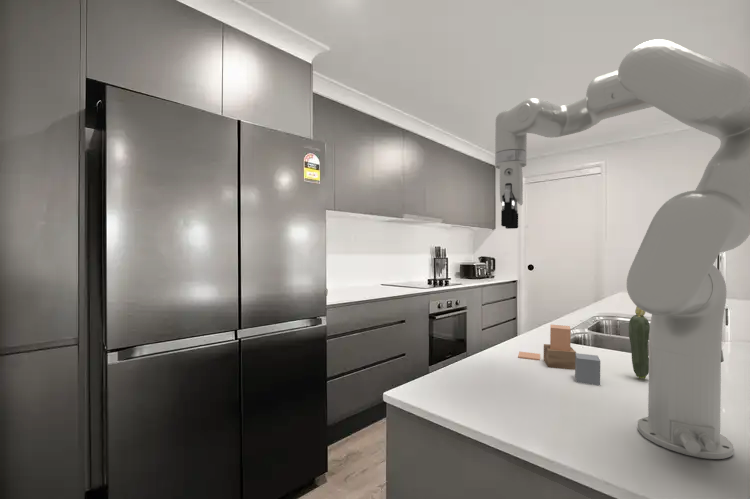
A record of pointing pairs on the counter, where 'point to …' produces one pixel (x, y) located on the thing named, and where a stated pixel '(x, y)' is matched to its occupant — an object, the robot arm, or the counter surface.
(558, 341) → the terracotta cube
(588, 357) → the slate cube
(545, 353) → the base block
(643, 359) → the vegetable
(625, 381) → the counter surface
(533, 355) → the tile
